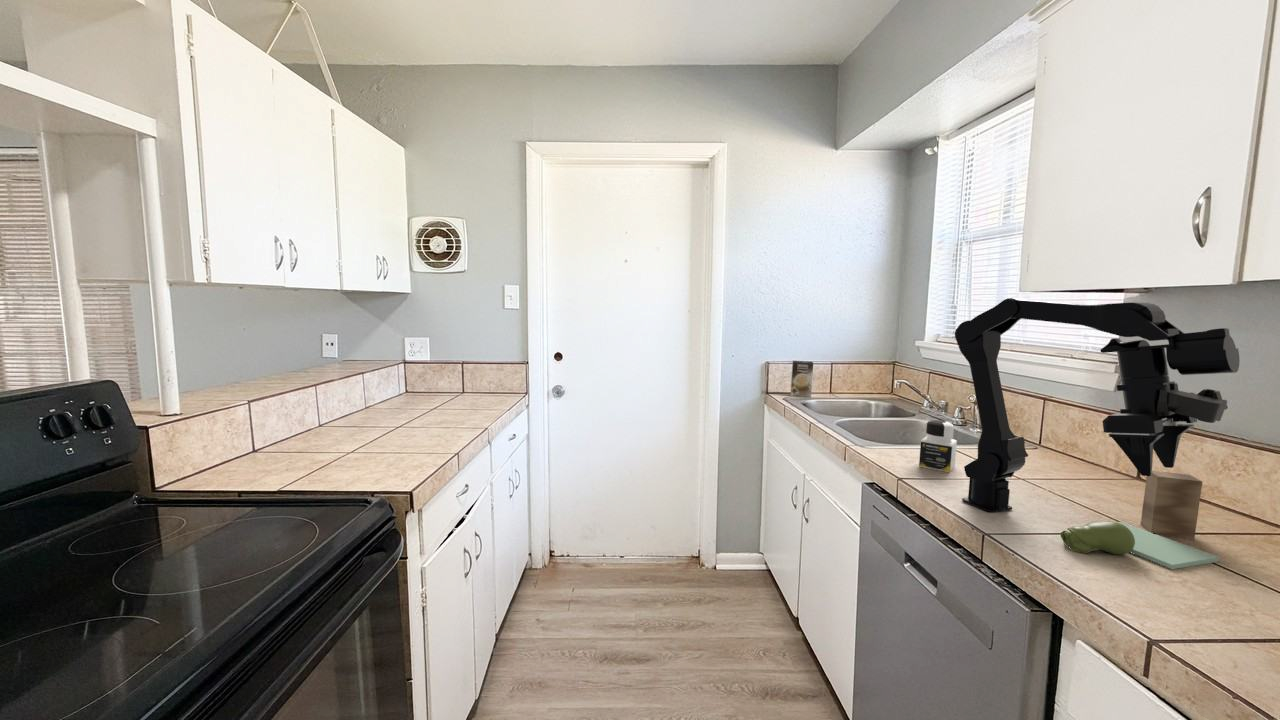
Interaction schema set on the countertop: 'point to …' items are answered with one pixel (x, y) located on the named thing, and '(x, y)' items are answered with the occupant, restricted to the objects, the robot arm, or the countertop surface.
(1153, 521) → the block
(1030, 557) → the countertop surface
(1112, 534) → the pear
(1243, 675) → the countertop surface
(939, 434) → the medicine bottle
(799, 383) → the coffee box
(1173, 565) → the mat
